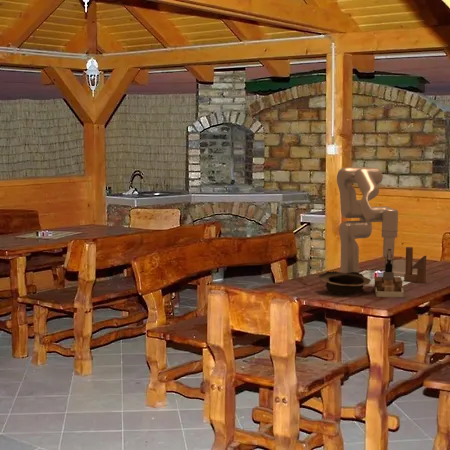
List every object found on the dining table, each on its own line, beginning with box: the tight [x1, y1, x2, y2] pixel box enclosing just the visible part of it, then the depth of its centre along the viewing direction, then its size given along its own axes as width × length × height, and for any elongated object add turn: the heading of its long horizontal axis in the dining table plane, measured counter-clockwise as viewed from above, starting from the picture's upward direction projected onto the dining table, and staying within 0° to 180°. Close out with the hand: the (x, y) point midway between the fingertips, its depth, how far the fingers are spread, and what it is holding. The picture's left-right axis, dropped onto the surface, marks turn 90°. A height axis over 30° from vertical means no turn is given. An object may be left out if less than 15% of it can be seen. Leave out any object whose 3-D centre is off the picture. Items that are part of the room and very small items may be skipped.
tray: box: [374, 287, 405, 298], centre depth 399 cm, size 13×12×2 cm
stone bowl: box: [318, 270, 371, 296], centre depth 406 cm, size 25×25×9 cm
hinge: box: [393, 259, 417, 278], centre depth 454 cm, size 17×5×10 cm, turn 59°
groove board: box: [374, 276, 403, 292], centre depth 411 cm, size 13×13×6 cm
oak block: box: [384, 280, 393, 292], centre depth 401 cm, size 4×4×6 cm
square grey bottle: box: [382, 256, 395, 281], centre depth 403 cm, size 5×4×14 cm
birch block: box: [385, 285, 394, 292], centre depth 397 cm, size 4×4×4 cm
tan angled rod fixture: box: [403, 246, 427, 284], centre depth 434 cm, size 4×11×18 cm, turn 55°
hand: (388, 270), depth 404 cm, fingers closed on square grey bottle, 3 cm apart
